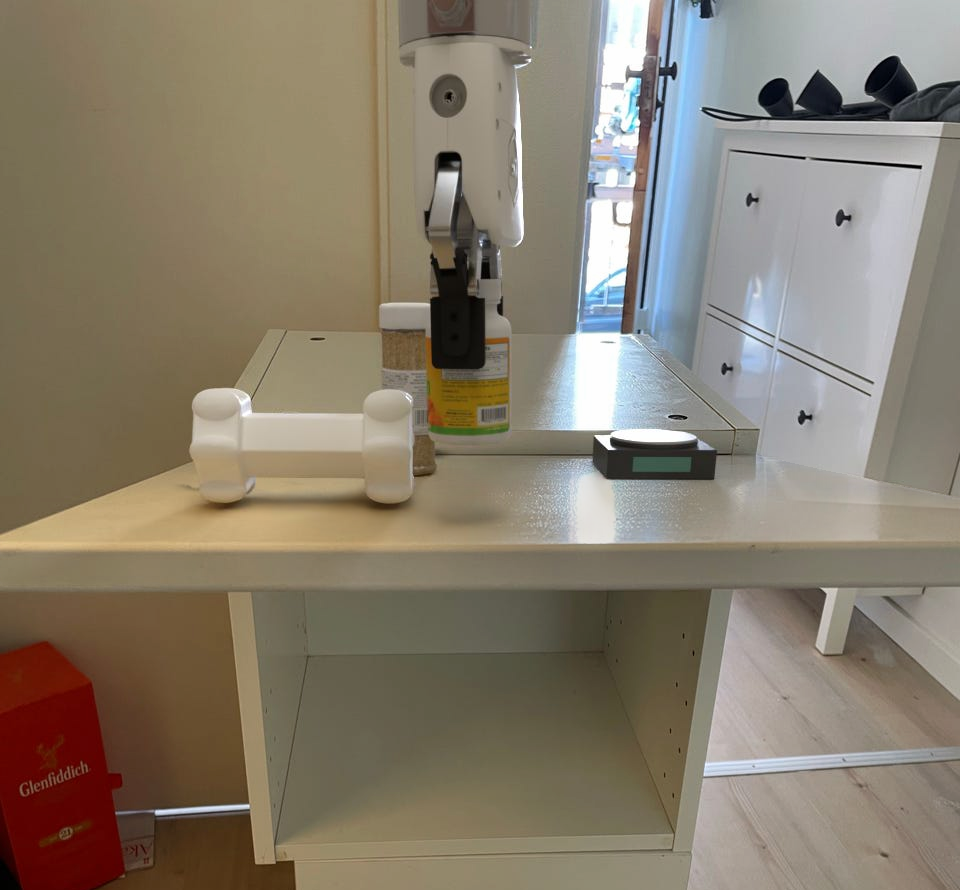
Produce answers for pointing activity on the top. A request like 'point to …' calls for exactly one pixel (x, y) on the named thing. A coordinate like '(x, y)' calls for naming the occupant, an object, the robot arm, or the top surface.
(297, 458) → the white bone
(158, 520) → the top surface
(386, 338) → the sprinkles bottle
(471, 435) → the supplement bottle
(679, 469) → the scale
